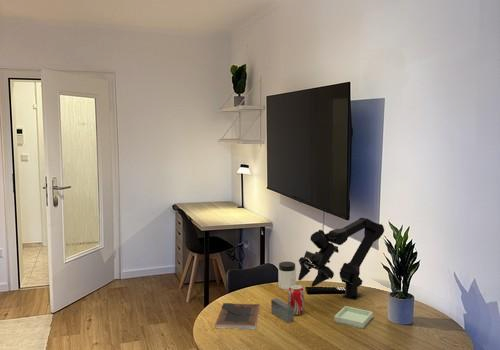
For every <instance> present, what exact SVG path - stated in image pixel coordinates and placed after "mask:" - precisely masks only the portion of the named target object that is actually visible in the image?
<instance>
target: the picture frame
mask: <svg viewBox="0 0 500 350" xmlns="http://www.w3.org/2000/svg"><path fill="white" fill-rule="evenodd" d="M259 312H260V304H259V303H233V302H229V303H228V302H227V303H226V302H223V303H222V306H221V309H220V311H219V313H218V317H217V319H216V322H215V324H214V328H215V327H226V328H239V329H238V330H250V329H251V330H252V331H253V330H254V331H255V330H256V327H257V322H258V317H259Z"/></svg>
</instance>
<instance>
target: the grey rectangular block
mask: <svg viewBox="0 0 500 350" xmlns="http://www.w3.org/2000/svg"><path fill="white" fill-rule="evenodd" d="M270 300H271V303H270V304H271V305H270V306H271V309H270V310H271V314H273V315H274V316H276V317H278V318H279V319H281V320H283V321H284V322H286V323H291V322H294V318H295V317H294V316H295V315H294V307H292V306H290V305H288V302H287V303H286V302H285V301H283V300H281V299H279V298H277V297H276V298H272V299H270Z"/></svg>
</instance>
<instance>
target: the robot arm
mask: <svg viewBox="0 0 500 350" xmlns="http://www.w3.org/2000/svg"><path fill="white" fill-rule="evenodd" d="M363 229H364V231H363V233H364V236H363V239H361V241H360V244H359V246H357V249H356V251H355V253H353V256H352V258H351V260H350V261H349V262H348V263H347V262H343V264H342V266H341V268H340V271H339V273H338V274H339V277H340V279H341V280H340V281H341V282H342V283H345V286H344V287H345V290H344V291H345V293H343V295H342V297H343V298H347V299H352V300H357V299H358V298H359V297H360V296H361V293H358V292H359V289H358V288H359V287H360V286H362V284H363V280H362V278H361V277H359V276H360V274H361V273H360V272H361V271H360V270H361V269H360V268H361V265H362V264H363V262H364V260H365V258H366V256H367V255H368V254H369V251H370V250H371V248H372V246H373V244H374V243H375V242H376V241H377V240H379V239H380V238H381V237H382V236H383V235H384V232H385V227H384V225H383V224H382V223H377V222H374V221H373V220H371V219H369V218H365V217H359V218H358V219H356V220H355V221H353V222H352V223H350V224H348V225H345V226H344V227H342V228H334V229H331V230H329V231H328V232H327V233H325V232H324V230H322V229H319V230H318V231H315V232H314V233H312V234H311V236H310V239H309V240H310V241H311V242H312V244H313V245H314V246H315V247H317V248H318V249H319V251H315V253H314V252H311V251H308V250H306V251H305V253H304V255H303V256H301V257H300V258H299V259H298V262H299V266H300V269H299V274H298V277H297V279H298V281H301V280H303V279H304V278H305V277H306V276H307V275H308V274H309V273H310V272H311V269H314V270H316V271H317V274H316V277H315V278H314V279H313V281H312V282H311V287H312V288H314V287H315V286H318V285H319V284H321V283H323V282H325V281H326V280H327V281H328V280H332V279H333V278H334V276H335V273H334V271H333V270H332V269H331V268H330V267H329V266H326V265H327V264H330V262H331V261H330V259H331V257H332V256H333V255H334V253H337V254H338V253H339V251H340V250H339V246H342V245H343V244H344V243H346V242H347V241H348V238H349V237H351V236H353V235H354V234H357V233H358V232H360V231H362V230H363ZM336 245H337V246H336Z"/></svg>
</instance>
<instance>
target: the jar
mask: <svg viewBox="0 0 500 350" xmlns="http://www.w3.org/2000/svg"><path fill="white" fill-rule="evenodd" d="M277 271H278V277H277V278H278V280H277V281H278V282H277V283H278V288H279V289H281V290H286V291H288V289H289V288H290V285H292V284H297V269H296V263H295V262H292V261H280V262H279V263H278V269H277Z"/></svg>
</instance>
